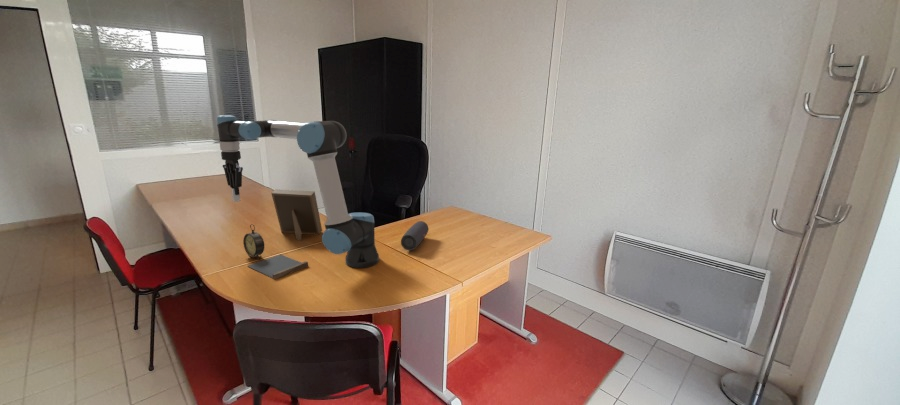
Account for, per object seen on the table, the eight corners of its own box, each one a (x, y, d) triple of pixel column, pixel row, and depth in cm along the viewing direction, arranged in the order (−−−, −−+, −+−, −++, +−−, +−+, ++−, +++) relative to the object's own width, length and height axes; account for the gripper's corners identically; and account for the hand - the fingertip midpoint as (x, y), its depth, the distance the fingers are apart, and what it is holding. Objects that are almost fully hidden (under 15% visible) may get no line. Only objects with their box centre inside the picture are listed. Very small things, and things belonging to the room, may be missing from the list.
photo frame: (285, 229, 211) (281, 186, 204) (322, 232, 209) (319, 188, 202) (270, 239, 196) (265, 193, 190) (310, 241, 194) (306, 195, 188)
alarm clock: (244, 255, 174) (240, 223, 170) (255, 252, 179) (251, 220, 175) (256, 261, 169) (252, 228, 164) (268, 258, 173) (264, 225, 169)
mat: (307, 265, 166) (307, 264, 166) (274, 279, 153) (274, 278, 153) (280, 255, 177) (280, 254, 176) (247, 266, 164) (247, 265, 163)
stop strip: (308, 266, 166) (307, 261, 165) (274, 279, 153) (274, 274, 152) (306, 265, 167) (305, 261, 166) (272, 278, 154) (272, 273, 153)
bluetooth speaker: (417, 253, 183) (418, 234, 180) (399, 251, 184) (399, 232, 182) (429, 238, 204) (429, 220, 202) (413, 236, 206) (413, 219, 203)
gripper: (246, 151, 166) (252, 202, 173) (231, 148, 173) (237, 197, 179) (229, 152, 160) (236, 205, 166) (214, 150, 167) (221, 200, 173)
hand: (236, 201), depth 173 cm, fingers closed
